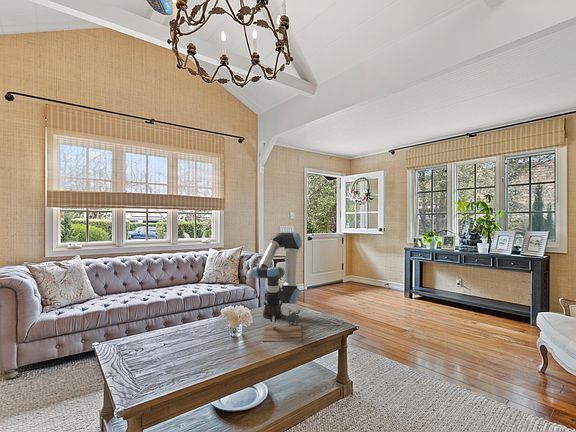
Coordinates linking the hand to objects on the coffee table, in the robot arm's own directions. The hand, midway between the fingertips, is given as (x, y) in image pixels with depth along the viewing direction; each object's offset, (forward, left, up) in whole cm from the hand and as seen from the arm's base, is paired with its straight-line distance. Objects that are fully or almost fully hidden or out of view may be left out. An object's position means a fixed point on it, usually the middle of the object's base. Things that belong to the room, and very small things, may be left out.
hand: (273, 326), depth 205 cm
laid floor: (+12, +6, -4) cm, 14 cm away
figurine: (-11, +14, -4) cm, 19 cm away
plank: (+2, +6, -3) cm, 7 cm away
